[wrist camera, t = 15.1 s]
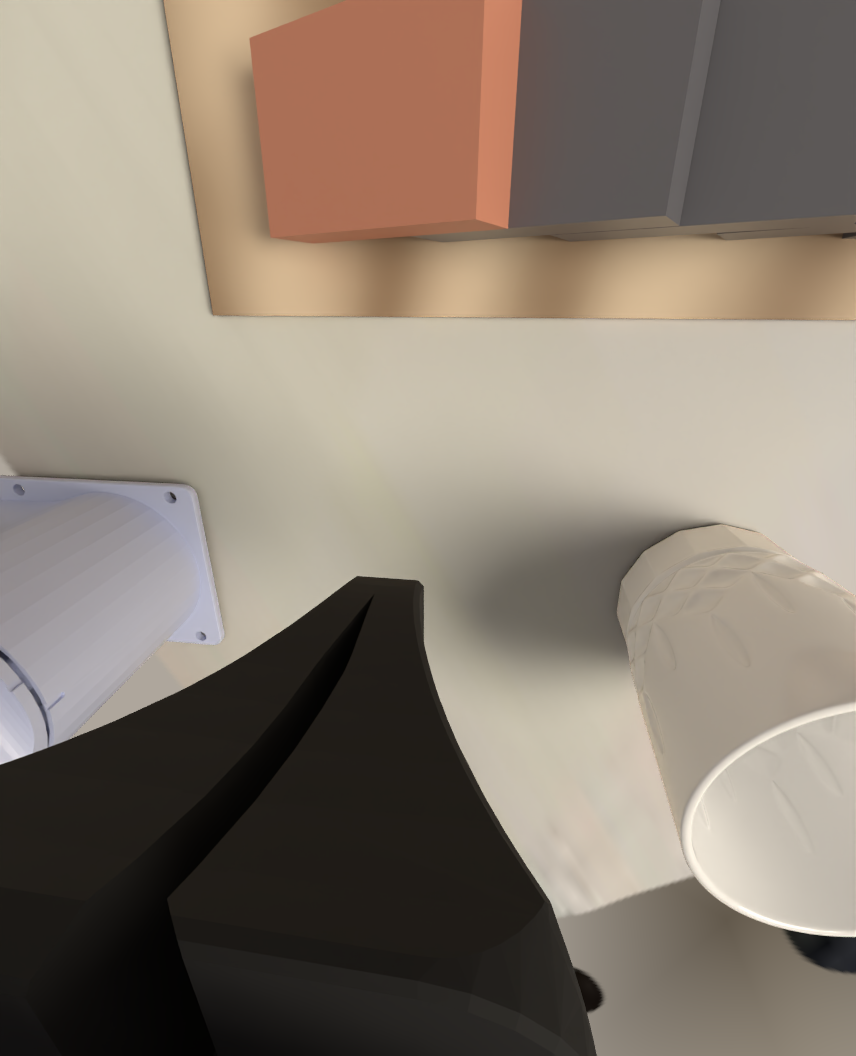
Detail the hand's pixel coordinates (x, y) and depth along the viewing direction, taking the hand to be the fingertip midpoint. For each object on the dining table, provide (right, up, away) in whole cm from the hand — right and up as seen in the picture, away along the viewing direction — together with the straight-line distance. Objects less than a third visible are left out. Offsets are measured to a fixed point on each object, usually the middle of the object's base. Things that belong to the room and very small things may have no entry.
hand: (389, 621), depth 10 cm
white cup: (+12, -1, +11) cm, 16 cm away
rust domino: (-4, +13, +5) cm, 14 cm away
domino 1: (+1, +13, +4) cm, 14 cm away
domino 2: (+5, +13, +4) cm, 14 cm away
